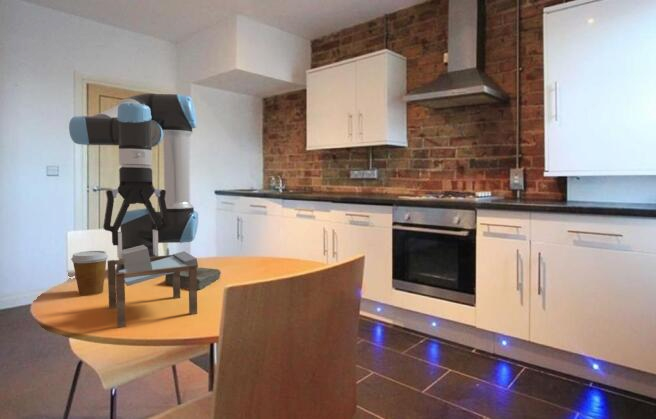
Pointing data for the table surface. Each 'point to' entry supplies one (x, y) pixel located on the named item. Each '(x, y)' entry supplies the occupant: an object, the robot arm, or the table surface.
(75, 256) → the disposable coffee cup
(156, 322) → the table surface
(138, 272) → the walnut frame
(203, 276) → the marble piece
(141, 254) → the granite block
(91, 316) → the table surface
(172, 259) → the trapdoor
